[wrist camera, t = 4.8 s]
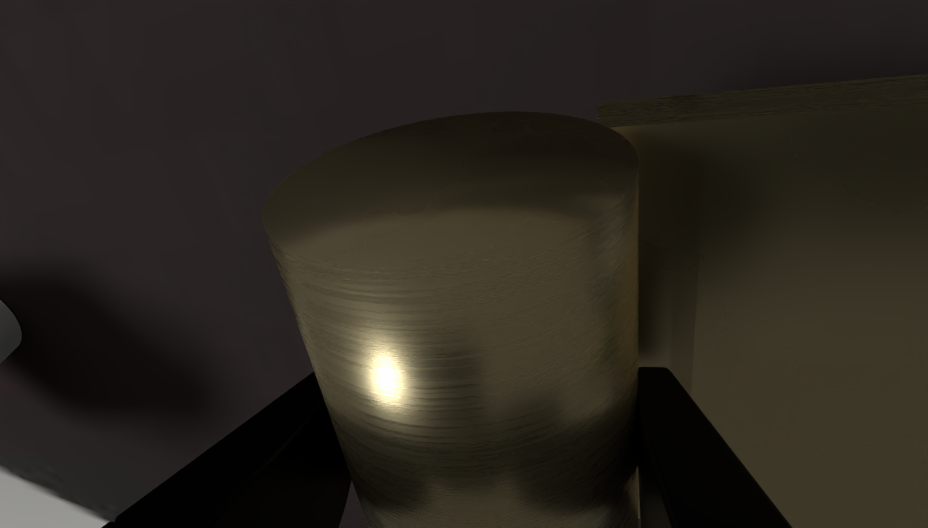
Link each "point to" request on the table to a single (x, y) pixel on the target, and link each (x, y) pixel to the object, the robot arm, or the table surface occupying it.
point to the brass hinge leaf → (622, 302)
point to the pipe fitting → (8, 332)
